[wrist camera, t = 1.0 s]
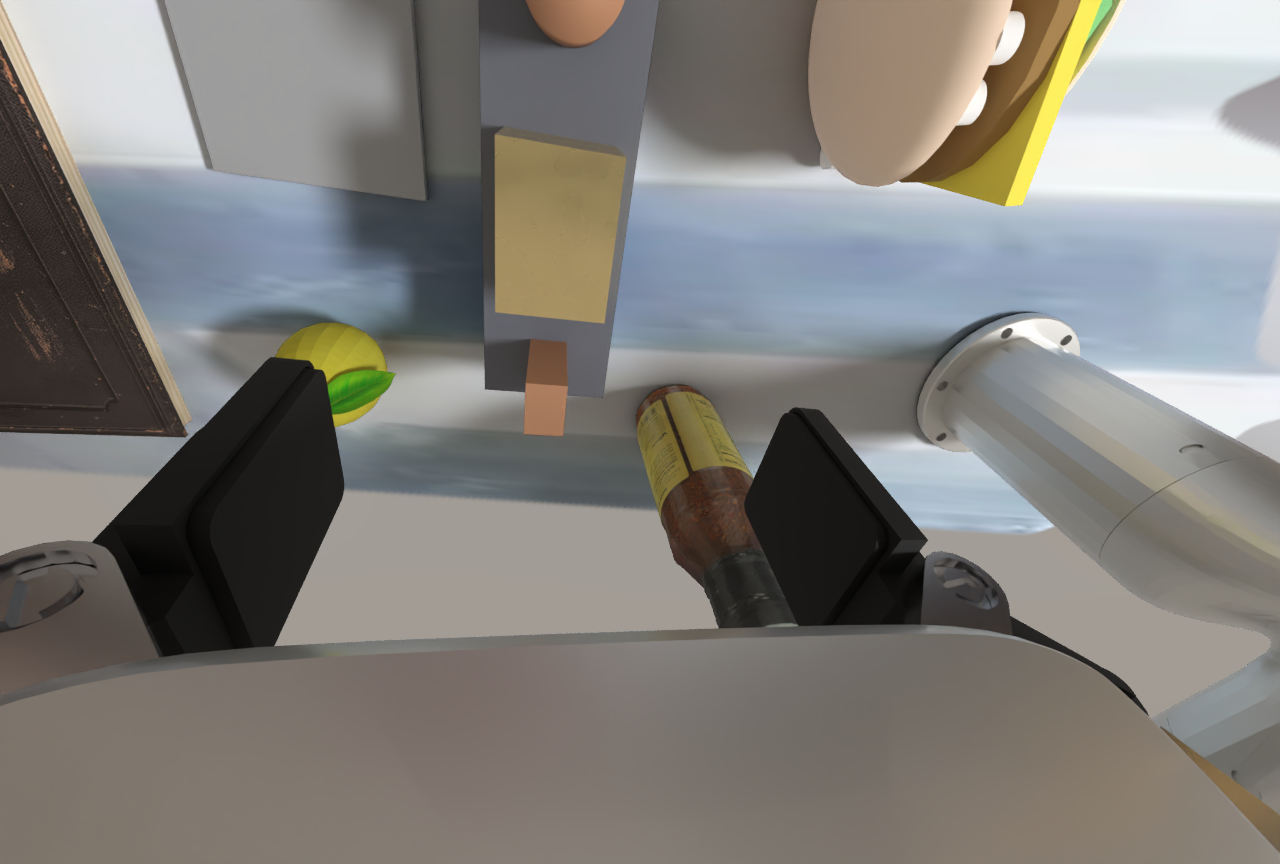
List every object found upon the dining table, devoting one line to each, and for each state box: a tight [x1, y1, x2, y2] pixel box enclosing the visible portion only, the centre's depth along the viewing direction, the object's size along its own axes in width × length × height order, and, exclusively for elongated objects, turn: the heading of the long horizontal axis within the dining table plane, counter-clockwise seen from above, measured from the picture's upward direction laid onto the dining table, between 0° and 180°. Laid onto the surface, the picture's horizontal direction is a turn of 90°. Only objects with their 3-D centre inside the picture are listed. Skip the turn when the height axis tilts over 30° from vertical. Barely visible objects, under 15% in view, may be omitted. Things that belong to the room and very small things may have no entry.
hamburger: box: [808, 0, 1126, 206], centre depth 21 cm, size 12×8×12 cm
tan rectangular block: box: [495, 126, 626, 323], centre depth 22 cm, size 5×7×4 cm
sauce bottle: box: [636, 385, 798, 629], centre depth 30 cm, size 6×6×20 cm
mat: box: [164, 0, 428, 201], centre depth 23 cm, size 10×10×1 cm
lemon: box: [275, 323, 395, 427], centre depth 27 cm, size 7×6×10 cm
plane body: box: [479, 0, 659, 436], centre depth 24 cm, size 7×20×10 cm, turn 170°
